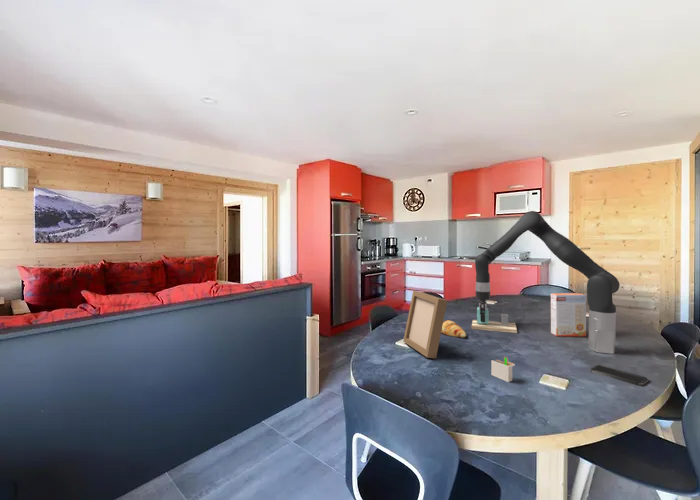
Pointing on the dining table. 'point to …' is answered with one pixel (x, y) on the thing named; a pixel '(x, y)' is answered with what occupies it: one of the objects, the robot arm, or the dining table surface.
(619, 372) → the dark grey flat bar
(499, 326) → the birch board
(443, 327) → the croissant
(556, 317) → the cracker box
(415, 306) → the photo frame
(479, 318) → the light blue cube
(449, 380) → the dining table surface
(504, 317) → the right steel post
